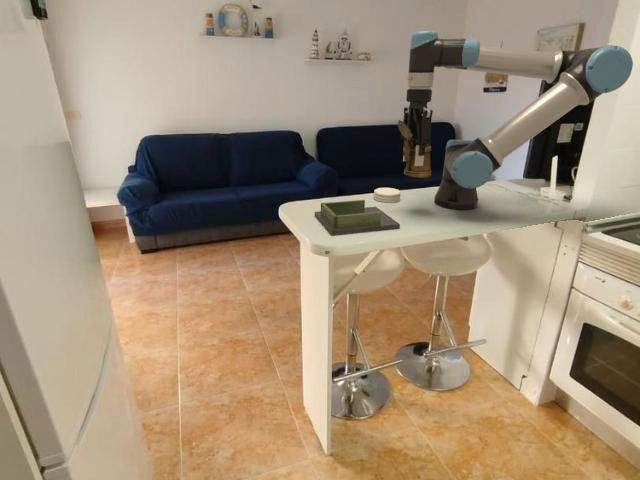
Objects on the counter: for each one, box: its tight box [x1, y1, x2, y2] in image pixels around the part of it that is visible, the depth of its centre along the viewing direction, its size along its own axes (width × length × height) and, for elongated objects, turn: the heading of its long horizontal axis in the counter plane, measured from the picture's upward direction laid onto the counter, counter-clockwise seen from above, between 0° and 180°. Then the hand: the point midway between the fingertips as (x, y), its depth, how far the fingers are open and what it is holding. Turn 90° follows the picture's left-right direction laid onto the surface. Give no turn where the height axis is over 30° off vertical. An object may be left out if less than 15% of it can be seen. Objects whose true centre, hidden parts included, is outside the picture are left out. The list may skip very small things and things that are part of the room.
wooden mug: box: [397, 119, 432, 179], centre depth 127 cm, size 9×14×18 cm, turn 113°
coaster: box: [373, 187, 402, 204], centre depth 149 cm, size 10×10×4 cm
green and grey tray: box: [314, 199, 401, 237], centre depth 125 cm, size 22×18×5 cm
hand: (412, 163), depth 129 cm, fingers closed on wooden mug, 7 cm apart
